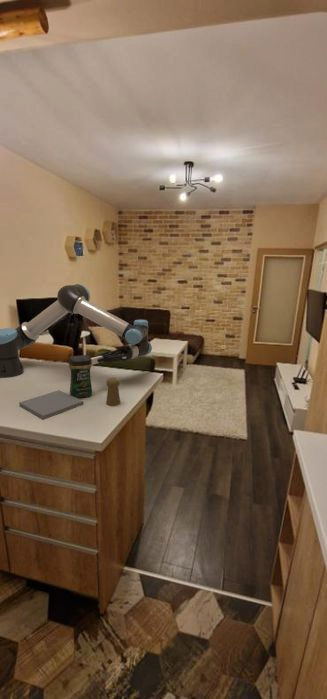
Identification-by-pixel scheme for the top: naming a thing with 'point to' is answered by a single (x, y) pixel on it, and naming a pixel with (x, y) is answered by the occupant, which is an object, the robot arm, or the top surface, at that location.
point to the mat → (51, 404)
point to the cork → (113, 392)
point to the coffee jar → (80, 376)
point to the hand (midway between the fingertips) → (90, 361)
